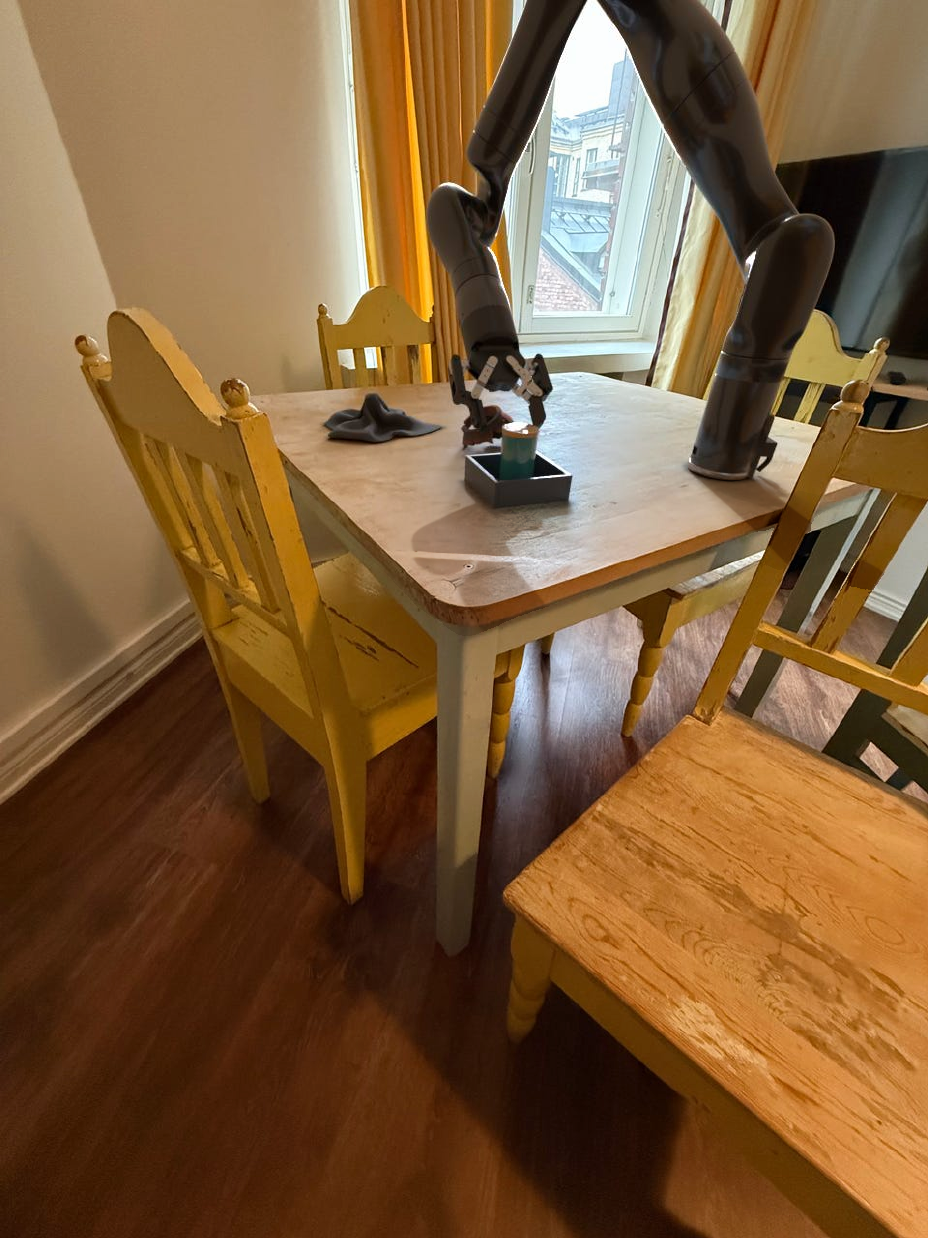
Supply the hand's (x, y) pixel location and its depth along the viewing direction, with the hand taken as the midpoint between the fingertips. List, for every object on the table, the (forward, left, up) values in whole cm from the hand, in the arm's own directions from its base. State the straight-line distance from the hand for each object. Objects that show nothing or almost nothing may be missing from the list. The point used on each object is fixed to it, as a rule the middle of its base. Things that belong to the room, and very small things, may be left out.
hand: (511, 427), depth 71 cm
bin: (-1, +3, -8) cm, 9 cm away
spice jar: (-1, +3, -8) cm, 8 cm away
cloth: (+23, -27, -8) cm, 37 cm away
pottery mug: (+2, -17, -8) cm, 20 cm away
